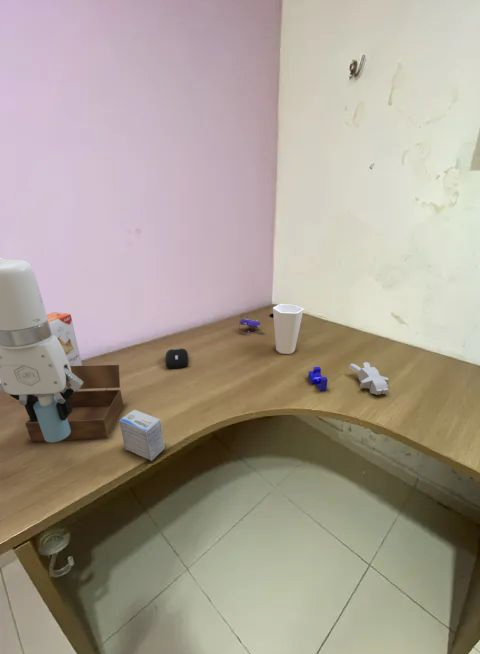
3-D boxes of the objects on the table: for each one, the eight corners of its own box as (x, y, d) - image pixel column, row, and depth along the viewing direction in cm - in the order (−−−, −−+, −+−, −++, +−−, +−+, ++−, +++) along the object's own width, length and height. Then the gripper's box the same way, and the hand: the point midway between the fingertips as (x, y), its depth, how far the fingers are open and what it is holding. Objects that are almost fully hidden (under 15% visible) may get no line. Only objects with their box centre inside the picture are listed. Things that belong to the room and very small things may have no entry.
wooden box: (31, 441, 72) (24, 423, 69) (58, 408, 83) (53, 391, 81) (107, 437, 74) (103, 419, 71) (123, 405, 85) (120, 389, 83)
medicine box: (165, 449, 71) (161, 418, 67) (151, 462, 67) (146, 431, 64) (139, 438, 74) (134, 408, 70) (124, 450, 70) (118, 419, 67)
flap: (51, 366, 80) (51, 366, 80) (52, 389, 80) (53, 389, 81) (118, 364, 82) (118, 364, 82) (119, 387, 82) (120, 387, 83)
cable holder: (308, 377, 102) (309, 367, 101) (318, 377, 103) (319, 366, 101) (315, 391, 95) (316, 380, 94) (326, 390, 96) (327, 379, 94)
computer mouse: (187, 352, 116) (187, 342, 114) (188, 368, 105) (187, 357, 103) (166, 354, 114) (165, 344, 112) (165, 370, 103) (164, 359, 102)
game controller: (257, 317, 142) (266, 320, 134) (253, 334, 143) (261, 338, 134) (237, 312, 138) (245, 315, 129) (233, 330, 139) (240, 334, 130)
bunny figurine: (370, 387, 91) (347, 359, 103) (366, 400, 93) (344, 371, 106) (398, 384, 93) (372, 356, 105) (393, 397, 96) (368, 368, 108)
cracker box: (50, 400, 86) (29, 330, 77) (31, 397, 87) (8, 328, 78) (86, 375, 99) (71, 312, 90) (69, 372, 99) (52, 310, 91)
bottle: (39, 443, 61) (24, 401, 57) (51, 427, 66) (38, 388, 61) (64, 441, 62) (51, 400, 58) (74, 426, 66) (63, 387, 62)
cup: (298, 345, 125) (302, 304, 118) (300, 356, 116) (304, 313, 109) (271, 343, 125) (273, 303, 118) (270, 355, 116) (272, 312, 109)
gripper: (-47, 342, 50) (-8, 431, 57) (66, 340, 52) (89, 427, 60) (-14, 325, 56) (17, 407, 64) (85, 324, 59) (103, 403, 66)
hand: (51, 416), depth 62 cm, fingers closed on bottle, 4 cm apart
